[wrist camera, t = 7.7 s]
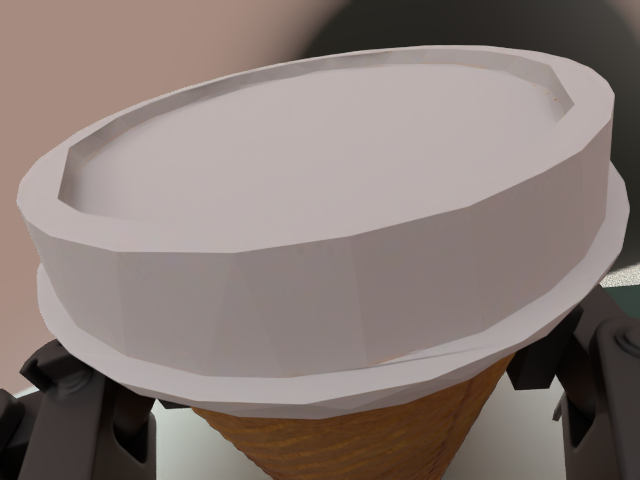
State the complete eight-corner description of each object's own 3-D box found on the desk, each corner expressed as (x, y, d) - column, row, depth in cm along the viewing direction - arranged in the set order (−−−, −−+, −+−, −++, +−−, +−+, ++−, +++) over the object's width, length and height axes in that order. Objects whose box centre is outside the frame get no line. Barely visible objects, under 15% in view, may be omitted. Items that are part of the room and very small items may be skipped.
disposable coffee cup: (255, 335, 17) (151, 82, 10) (448, 317, 16) (480, 26, 9) (203, 614, 9) (-372, 366, 2) (561, 606, 9) (1235, 192, 2)
